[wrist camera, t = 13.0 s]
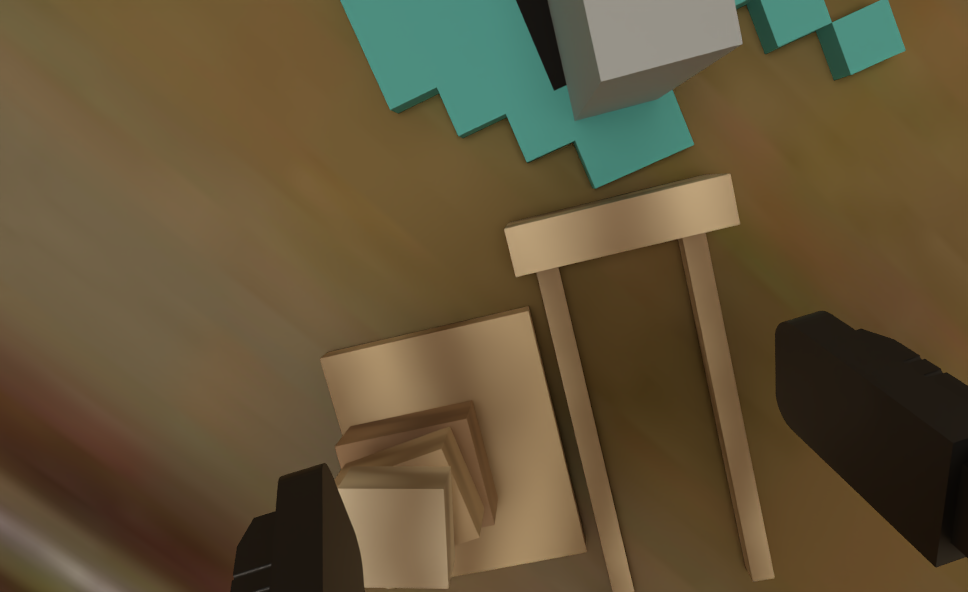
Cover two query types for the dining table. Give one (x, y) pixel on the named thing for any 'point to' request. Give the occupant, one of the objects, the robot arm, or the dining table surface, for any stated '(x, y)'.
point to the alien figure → (540, 77)
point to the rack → (524, 389)
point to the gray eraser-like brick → (637, 47)
